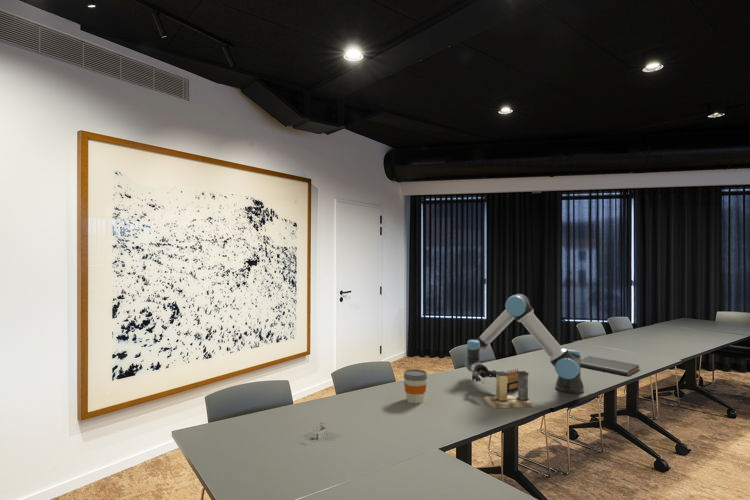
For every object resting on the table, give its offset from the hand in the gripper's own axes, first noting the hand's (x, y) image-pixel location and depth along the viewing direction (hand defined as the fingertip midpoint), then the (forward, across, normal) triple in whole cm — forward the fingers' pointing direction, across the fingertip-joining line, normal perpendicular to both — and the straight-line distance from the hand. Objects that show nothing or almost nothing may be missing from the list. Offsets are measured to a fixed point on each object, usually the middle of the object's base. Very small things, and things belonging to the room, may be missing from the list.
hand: (495, 381), depth 229 cm
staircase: (+34, +97, -10) cm, 103 cm away
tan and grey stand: (+8, -3, -10) cm, 13 cm away
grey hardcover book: (-48, -105, -10) cm, 115 cm away
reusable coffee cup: (-4, +44, -10) cm, 45 cm away
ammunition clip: (-12, -16, -10) cm, 22 cm away
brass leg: (+8, 0, -7) cm, 11 cm away
